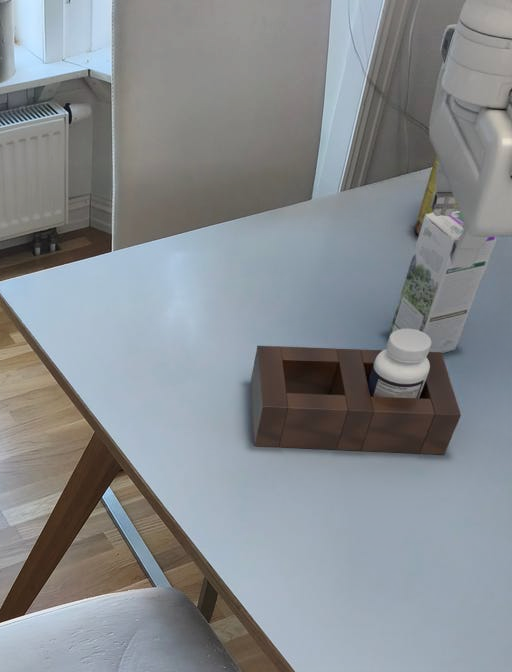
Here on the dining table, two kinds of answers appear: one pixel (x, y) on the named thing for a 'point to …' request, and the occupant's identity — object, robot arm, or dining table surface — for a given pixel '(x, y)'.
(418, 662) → the dining table surface
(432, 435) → the socket block
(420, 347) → the pill bottle
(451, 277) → the syrup box
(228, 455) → the dining table surface
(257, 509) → the dining table surface
